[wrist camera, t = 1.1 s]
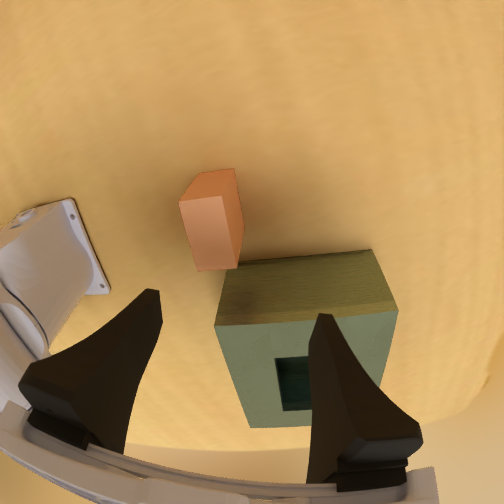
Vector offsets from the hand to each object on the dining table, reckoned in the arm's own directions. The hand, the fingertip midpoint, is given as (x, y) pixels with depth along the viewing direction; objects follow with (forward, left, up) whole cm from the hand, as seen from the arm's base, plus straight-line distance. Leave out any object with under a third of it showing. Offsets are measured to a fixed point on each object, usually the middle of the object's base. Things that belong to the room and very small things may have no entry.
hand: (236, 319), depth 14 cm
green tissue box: (+10, +3, -10) cm, 14 cm away
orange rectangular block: (-2, -2, -10) cm, 10 cm away
